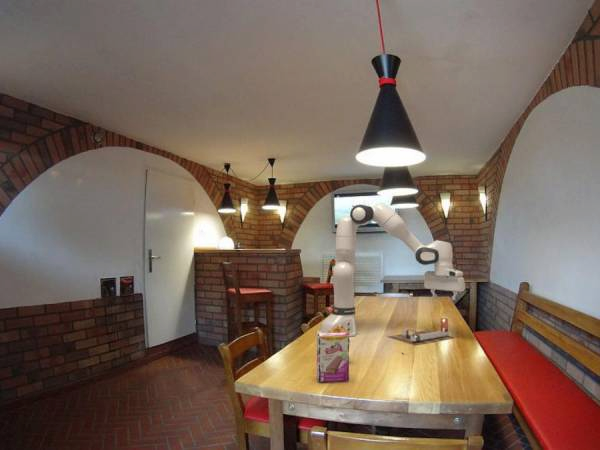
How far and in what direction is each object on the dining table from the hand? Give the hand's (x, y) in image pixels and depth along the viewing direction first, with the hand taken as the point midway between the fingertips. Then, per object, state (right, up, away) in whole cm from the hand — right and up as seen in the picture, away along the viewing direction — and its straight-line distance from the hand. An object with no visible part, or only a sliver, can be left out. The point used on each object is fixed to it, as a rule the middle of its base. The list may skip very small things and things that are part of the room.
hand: (444, 299), depth 189 cm
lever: (-9, -18, -6) cm, 21 cm away
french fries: (-58, -19, -35) cm, 70 cm away
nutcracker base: (-12, -21, -1) cm, 24 cm away
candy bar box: (-61, -18, -55) cm, 85 cm away
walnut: (-17, -19, -4) cm, 26 cm away
